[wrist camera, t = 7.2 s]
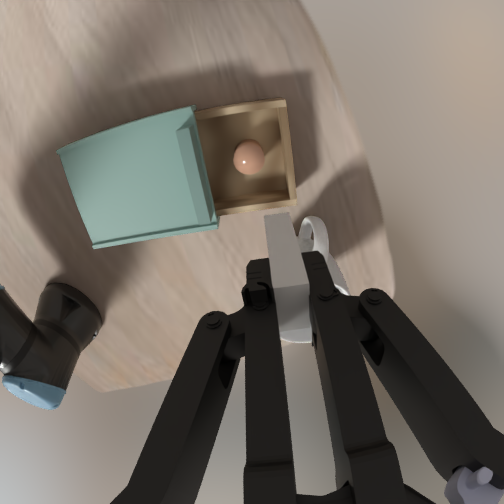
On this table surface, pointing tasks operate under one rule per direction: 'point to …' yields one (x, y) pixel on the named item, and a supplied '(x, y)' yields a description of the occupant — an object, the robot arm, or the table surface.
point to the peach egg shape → (249, 156)
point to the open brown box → (223, 147)
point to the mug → (322, 246)
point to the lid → (141, 180)
